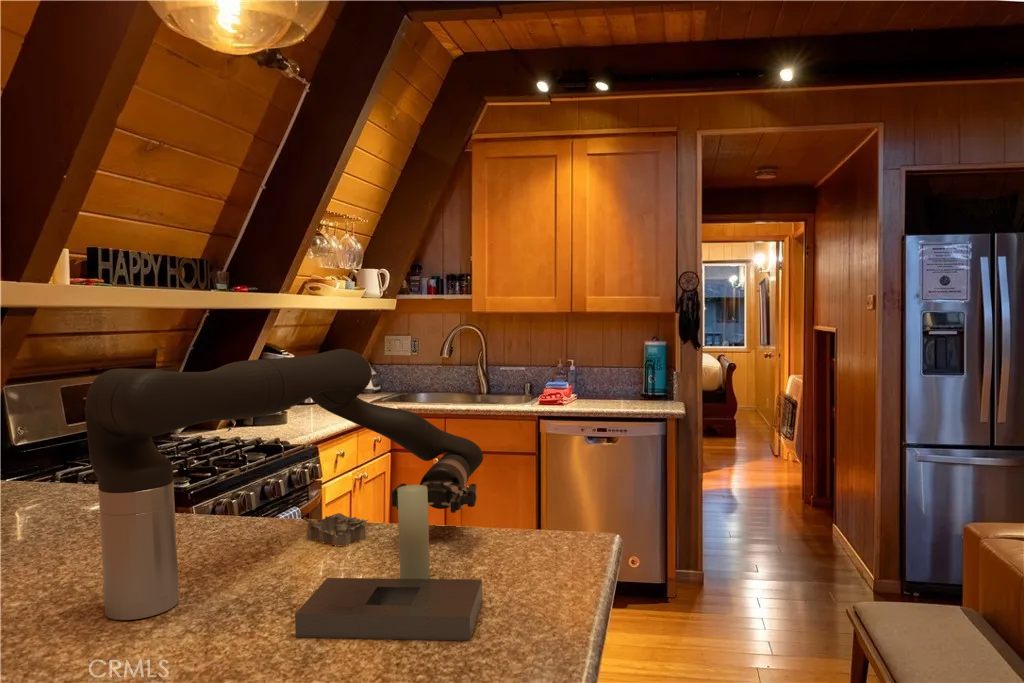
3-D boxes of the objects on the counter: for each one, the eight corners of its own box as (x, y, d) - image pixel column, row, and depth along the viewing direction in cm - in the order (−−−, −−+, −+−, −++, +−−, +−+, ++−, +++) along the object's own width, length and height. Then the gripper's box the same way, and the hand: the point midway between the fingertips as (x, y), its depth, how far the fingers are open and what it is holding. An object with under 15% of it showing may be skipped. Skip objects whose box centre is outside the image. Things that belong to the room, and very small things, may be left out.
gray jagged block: (300, 539, 131) (299, 517, 131) (334, 528, 137) (333, 507, 136) (338, 550, 124) (337, 527, 124) (372, 539, 130) (371, 516, 130)
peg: (394, 580, 109) (391, 488, 108) (418, 573, 112) (416, 483, 111) (411, 588, 106) (408, 493, 105) (435, 580, 109) (433, 488, 108)
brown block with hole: (295, 637, 91) (294, 614, 91) (327, 598, 103) (327, 577, 103) (470, 640, 89) (469, 616, 89) (482, 600, 101) (481, 579, 101)
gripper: (406, 462, 135) (383, 483, 119) (482, 462, 134) (469, 484, 118) (407, 502, 136) (384, 529, 120) (483, 502, 134) (470, 529, 118)
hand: (426, 506), depth 119 cm, fingers open, 8 cm apart
